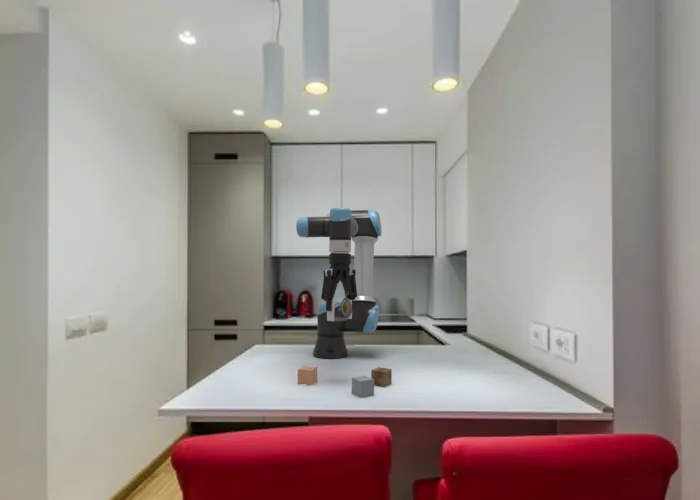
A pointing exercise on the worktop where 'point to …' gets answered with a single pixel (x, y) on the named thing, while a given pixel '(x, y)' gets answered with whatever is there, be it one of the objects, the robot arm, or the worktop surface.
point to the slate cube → (362, 386)
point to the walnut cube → (381, 376)
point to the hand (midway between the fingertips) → (339, 319)
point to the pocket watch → (344, 309)
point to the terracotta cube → (307, 375)
